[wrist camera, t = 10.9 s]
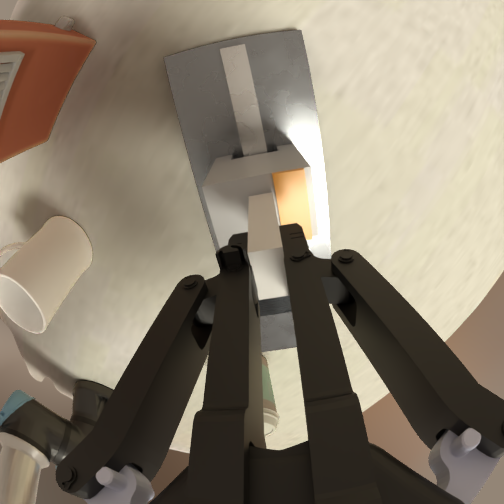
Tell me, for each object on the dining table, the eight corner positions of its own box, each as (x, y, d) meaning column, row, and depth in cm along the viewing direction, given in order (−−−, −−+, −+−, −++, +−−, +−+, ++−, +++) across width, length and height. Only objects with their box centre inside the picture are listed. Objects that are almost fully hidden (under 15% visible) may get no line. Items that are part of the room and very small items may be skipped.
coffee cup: (236, 340, 39) (233, 414, 29) (286, 356, 41) (292, 425, 31) (213, 367, 43) (207, 433, 33) (258, 381, 45) (260, 442, 35)
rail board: (330, 295, 34) (347, 352, 27) (237, 309, 36) (234, 369, 28) (298, 32, 19) (323, 4, 11) (167, 58, 20) (126, 46, 12)
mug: (26, 246, 30) (-21, 298, 20) (28, 195, 26) (-32, 244, 16) (88, 281, 33) (49, 346, 23) (98, 232, 29) (46, 299, 19)
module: (300, 194, 26) (319, 238, 19) (228, 207, 27) (220, 255, 20) (293, 143, 23) (312, 168, 16) (216, 157, 24) (200, 188, 17)
